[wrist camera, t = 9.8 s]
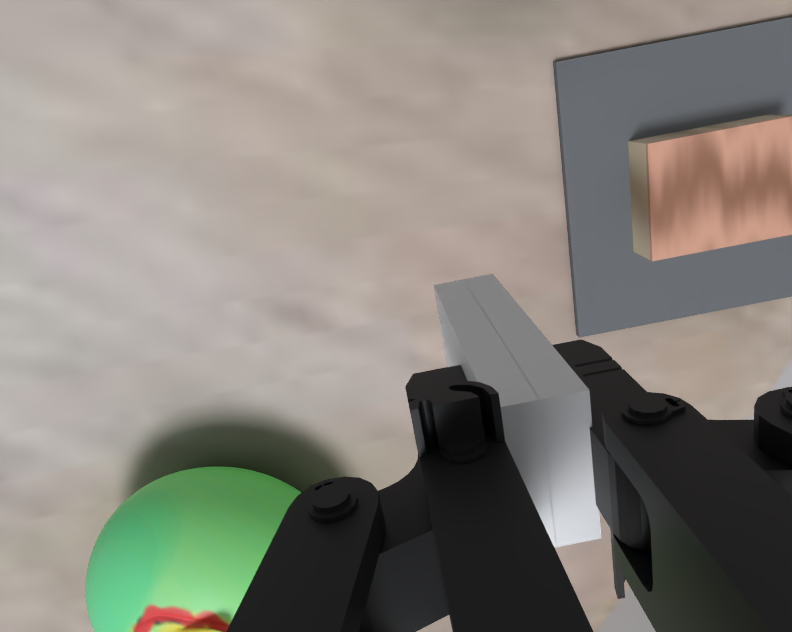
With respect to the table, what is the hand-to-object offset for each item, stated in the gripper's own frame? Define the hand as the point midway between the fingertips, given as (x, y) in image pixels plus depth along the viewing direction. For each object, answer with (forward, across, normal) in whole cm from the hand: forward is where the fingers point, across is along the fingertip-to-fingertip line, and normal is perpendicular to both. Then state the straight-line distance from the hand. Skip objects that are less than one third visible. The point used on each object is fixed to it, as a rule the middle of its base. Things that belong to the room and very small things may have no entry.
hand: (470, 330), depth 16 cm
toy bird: (+30, -18, -25) cm, 43 cm away
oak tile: (+27, +17, -4) cm, 32 cm away
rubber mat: (+29, +20, -4) cm, 36 cm away
